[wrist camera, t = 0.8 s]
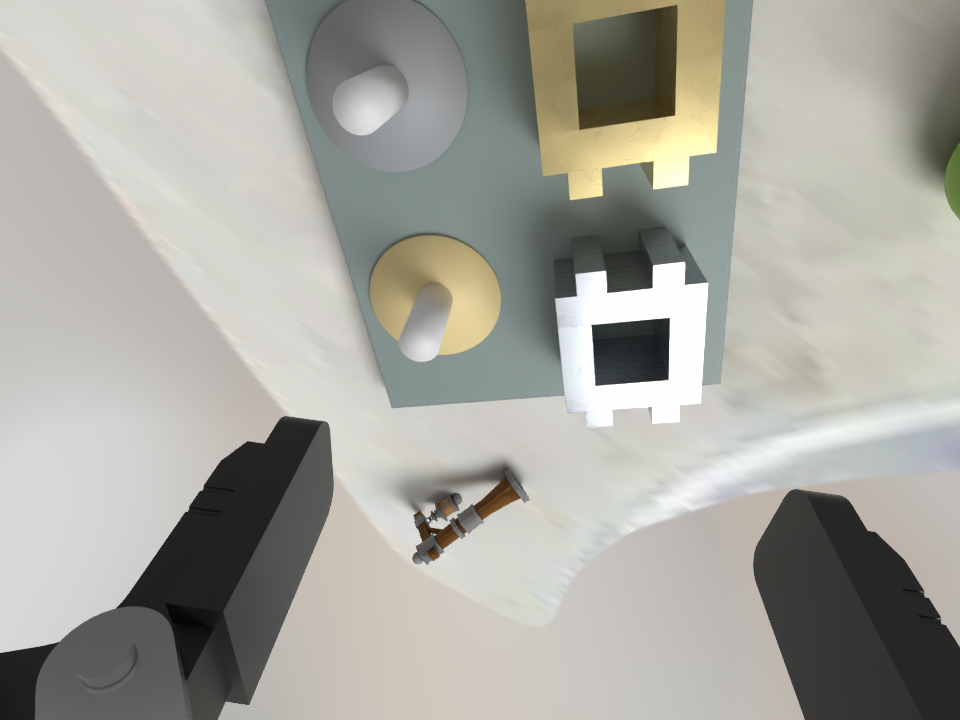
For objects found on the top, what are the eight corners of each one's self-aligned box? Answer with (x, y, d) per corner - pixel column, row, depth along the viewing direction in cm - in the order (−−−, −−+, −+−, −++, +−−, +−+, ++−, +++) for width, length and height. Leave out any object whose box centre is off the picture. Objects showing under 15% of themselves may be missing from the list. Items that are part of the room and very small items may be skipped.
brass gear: (698, -88, 19) (732, -106, 16) (689, 154, 23) (714, 181, 20) (522, -52, 20) (519, -61, 17) (545, 174, 24) (545, 203, 21)
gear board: (750, -132, 19) (823, -175, 14) (713, 367, 30) (746, 441, 25) (272, -29, 22) (193, -35, 17) (397, 392, 33) (372, 462, 28)
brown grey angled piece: (397, 516, 38) (407, 562, 34) (495, 446, 38) (517, 483, 34) (412, 533, 39) (424, 579, 35) (508, 464, 39) (531, 502, 35)
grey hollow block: (687, 223, 25) (709, 259, 21) (681, 371, 29) (699, 420, 26) (551, 239, 26) (552, 276, 22) (565, 380, 30) (567, 428, 27)
